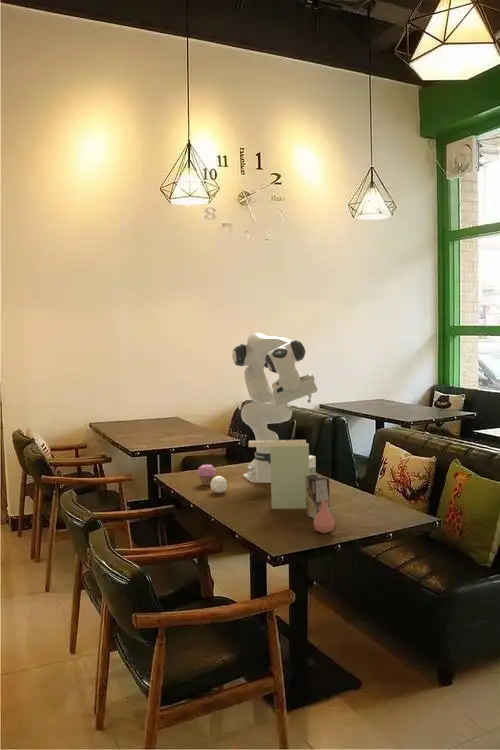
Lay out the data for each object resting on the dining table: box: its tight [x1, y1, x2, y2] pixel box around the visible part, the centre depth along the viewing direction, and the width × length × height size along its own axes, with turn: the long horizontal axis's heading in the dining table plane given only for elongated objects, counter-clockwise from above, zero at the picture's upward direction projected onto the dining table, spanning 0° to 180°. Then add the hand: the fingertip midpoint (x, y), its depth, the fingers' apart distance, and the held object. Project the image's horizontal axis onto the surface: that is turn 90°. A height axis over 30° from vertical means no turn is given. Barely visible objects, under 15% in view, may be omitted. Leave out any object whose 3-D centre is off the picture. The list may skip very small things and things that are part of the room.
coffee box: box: [305, 473, 331, 519], centre depth 261 cm, size 9×6×16 cm
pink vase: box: [312, 500, 335, 534], centre depth 241 cm, size 8×8×12 cm
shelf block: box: [270, 442, 310, 510], centre depth 276 cm, size 16×8×26 cm, turn 86°
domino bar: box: [248, 439, 307, 448], centre depth 275 cm, size 24×4×2 cm, turn 86°
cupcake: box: [197, 463, 217, 486], centre depth 316 cm, size 9×9×10 cm
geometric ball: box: [209, 475, 228, 494], centre depth 301 cm, size 8×8×8 cm
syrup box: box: [309, 454, 317, 476], centre depth 307 cm, size 6×6×14 cm
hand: (299, 405), depth 299 cm, fingers open, 8 cm apart
